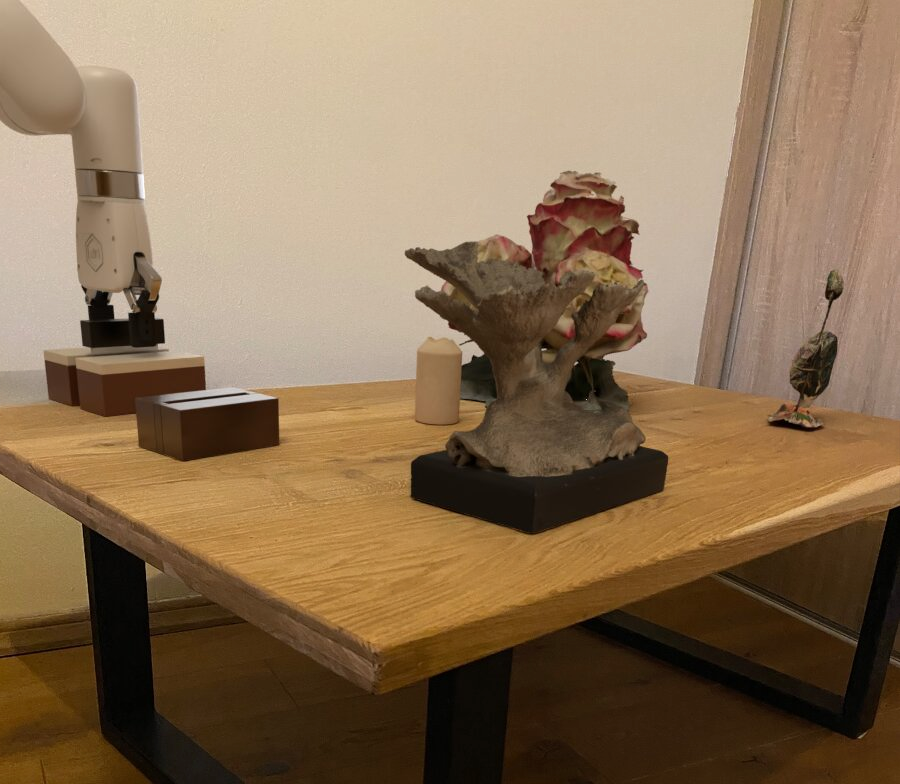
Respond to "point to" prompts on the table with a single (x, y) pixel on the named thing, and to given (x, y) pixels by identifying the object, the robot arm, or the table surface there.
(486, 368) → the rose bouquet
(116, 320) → the dark piece
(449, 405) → the candle
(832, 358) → the plant with pod
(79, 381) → the wooden blocks
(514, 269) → the coral
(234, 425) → the brown wooden slotted box
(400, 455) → the table surface
